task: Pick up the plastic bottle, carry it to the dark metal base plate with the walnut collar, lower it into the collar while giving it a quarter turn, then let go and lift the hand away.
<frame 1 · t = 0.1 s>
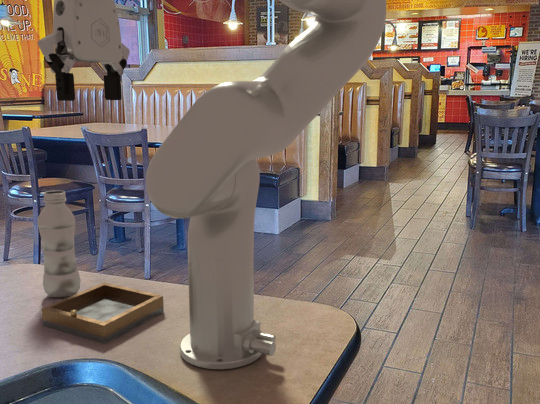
hand: (90, 100, 84), 37 cm above the table, tool pointing down, fingers open, 9 cm apart
plastic bottle: (62, 296, 102), on the table
collar base: (105, 318, 92), on the table
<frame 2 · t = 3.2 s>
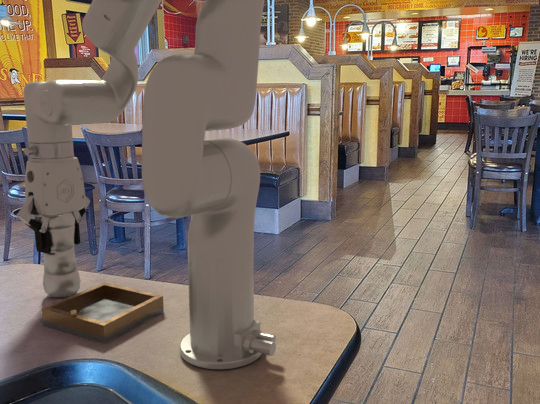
hand: (59, 246, 100), 10 cm above the table, tool pointing down, fingers closed on plastic bottle, 6 cm apart
plastic bottle: (62, 296, 102), on the table, touching gripper
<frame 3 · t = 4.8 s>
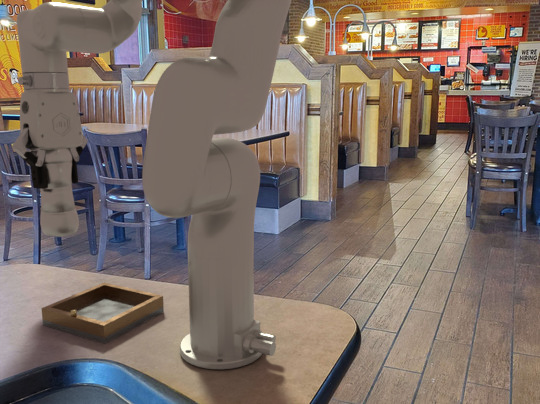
hand: (56, 184, 97), 21 cm above the table, tool pointing down, fingers closed on plastic bottle, 6 cm apart
plastic bottle: (61, 236, 99), point 12 cm above the table, touching gripper
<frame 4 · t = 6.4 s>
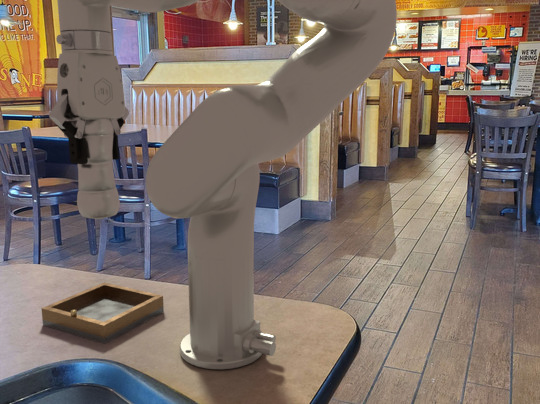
hand: (95, 160, 86), 27 cm above the table, tool pointing down, fingers closed on plastic bottle, 6 cm apart
plastic bottle: (99, 219, 88), point 17 cm above the table, touching gripper
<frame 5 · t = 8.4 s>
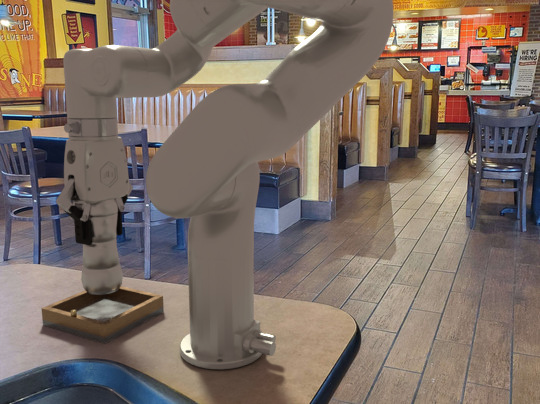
hand: (99, 237, 89), 14 cm above the table, tool pointing down, fingers closed on plastic bottle, 6 cm apart
plastic bottle: (103, 293, 91), point 5 cm above the table, touching gripper
when the fingers open (11 cm above the table, at t = 9.8 s): plastic bottle stays where it is, resting on collar base.
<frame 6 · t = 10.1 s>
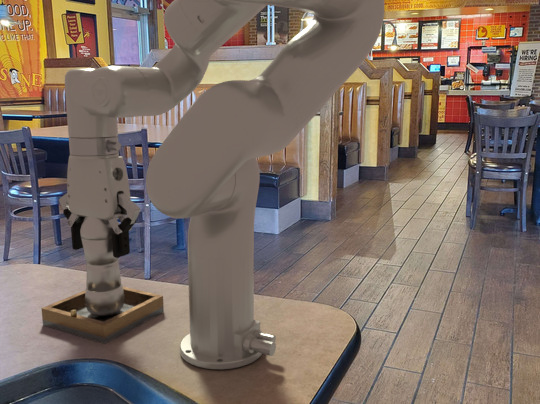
hand: (100, 251, 89), 12 cm above the table, tool pointing down, fingers open, 8 cm apart
plastic bottle: (105, 314, 91), point 1 cm above the table, touching collar base
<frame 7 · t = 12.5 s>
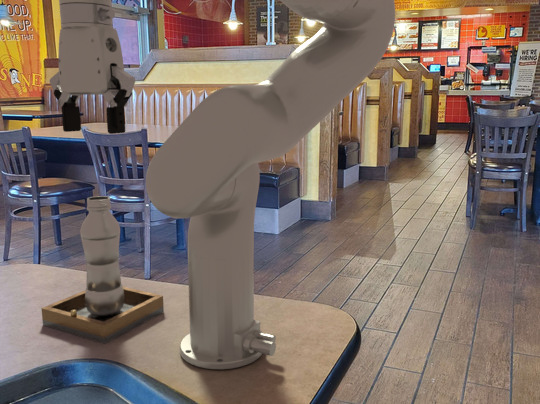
hand: (94, 132, 85), 32 cm above the table, tool pointing down, fingers open, 9 cm apart
nothing on the table moved.
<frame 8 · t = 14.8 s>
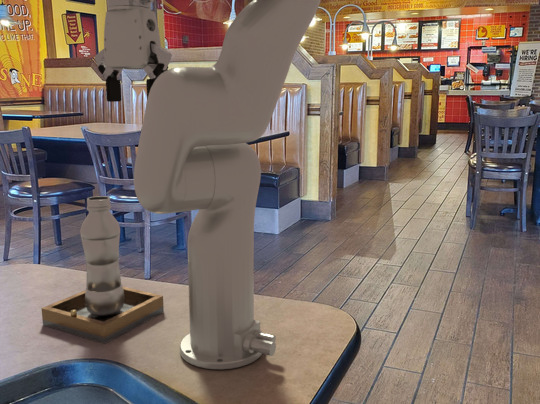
hand: (133, 101, 98), 36 cm above the table, tool pointing down, fingers open, 9 cm apart
nothing on the table moved.
at the end: plastic bottle 0.2 cm off-centre on the collar base, point 0.8 cm above the collar base's base; plastic bottle tilted 0°; the gripper is holding nothing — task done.
